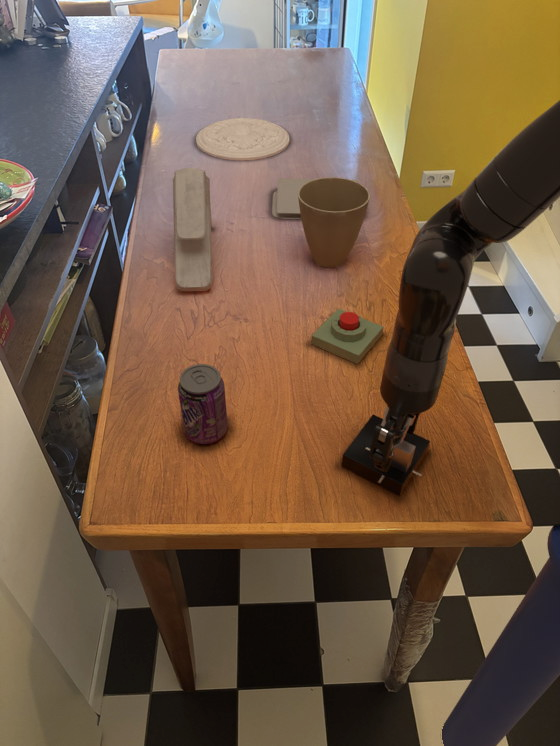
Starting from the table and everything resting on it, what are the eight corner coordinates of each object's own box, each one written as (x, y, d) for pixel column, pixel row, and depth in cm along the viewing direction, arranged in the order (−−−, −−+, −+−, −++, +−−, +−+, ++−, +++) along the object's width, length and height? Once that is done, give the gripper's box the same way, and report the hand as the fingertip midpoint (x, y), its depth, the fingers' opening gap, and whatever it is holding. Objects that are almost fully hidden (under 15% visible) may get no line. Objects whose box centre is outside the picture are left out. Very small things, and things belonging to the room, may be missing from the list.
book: (273, 189, 159) (273, 175, 156) (360, 190, 159) (361, 176, 156) (271, 218, 148) (271, 204, 145) (365, 220, 148) (366, 206, 145)
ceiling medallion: (296, 157, 173) (296, 146, 171) (198, 162, 170) (197, 151, 168) (282, 119, 193) (282, 109, 191) (194, 123, 190) (193, 113, 188)
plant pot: (313, 235, 143) (317, 171, 132) (371, 252, 138) (380, 187, 127) (283, 266, 133) (285, 200, 122) (345, 285, 128) (352, 218, 117)
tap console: (436, 457, 95) (440, 444, 93) (404, 509, 88) (408, 497, 86) (370, 426, 100) (373, 413, 97) (336, 473, 93) (337, 460, 90)
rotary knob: (410, 465, 90) (416, 445, 87) (405, 473, 89) (410, 453, 86) (380, 450, 92) (384, 430, 89) (375, 458, 91) (379, 438, 88)
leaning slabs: (184, 308, 142) (172, 285, 119) (182, 207, 144) (169, 165, 121) (217, 307, 142) (210, 283, 119) (214, 207, 145) (207, 165, 122)
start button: (361, 323, 113) (362, 316, 112) (352, 333, 111) (353, 326, 110) (345, 316, 115) (345, 309, 113) (335, 326, 113) (336, 319, 111)
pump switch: (382, 335, 116) (384, 319, 114) (357, 364, 110) (359, 348, 108) (337, 316, 120) (338, 300, 118) (311, 344, 114) (312, 327, 112)
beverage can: (178, 422, 100) (169, 370, 91) (217, 408, 102) (212, 356, 94) (193, 453, 95) (186, 400, 87) (234, 437, 98) (231, 385, 89)
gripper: (417, 416, 72) (396, 494, 83) (462, 350, 80) (437, 429, 91) (361, 390, 74) (348, 469, 86) (410, 329, 83) (392, 408, 94)
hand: (394, 448), depth 89 cm, fingers open, 8 cm apart
